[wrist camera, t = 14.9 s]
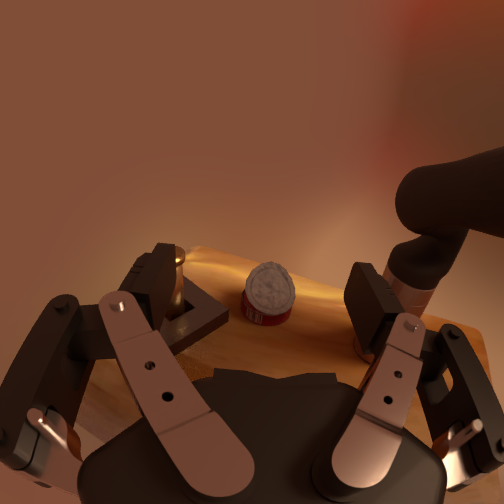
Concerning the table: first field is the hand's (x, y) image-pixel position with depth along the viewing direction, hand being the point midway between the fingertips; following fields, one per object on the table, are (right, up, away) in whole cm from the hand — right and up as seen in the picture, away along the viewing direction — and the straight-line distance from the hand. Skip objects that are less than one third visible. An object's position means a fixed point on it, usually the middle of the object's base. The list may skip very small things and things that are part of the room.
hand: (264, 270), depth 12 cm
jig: (-15, -11, +37) cm, 42 cm away
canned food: (+2, -11, +43) cm, 44 cm away
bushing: (-15, -11, +37) cm, 42 cm away
